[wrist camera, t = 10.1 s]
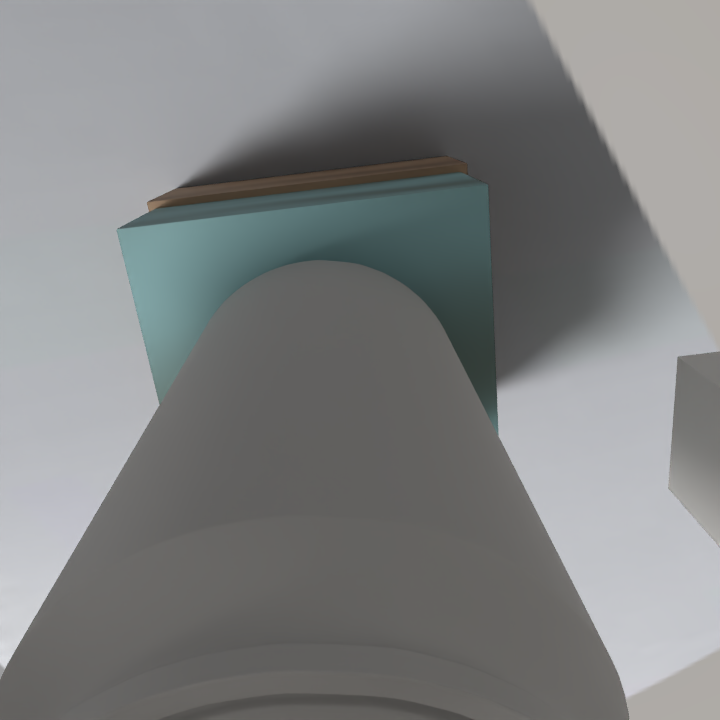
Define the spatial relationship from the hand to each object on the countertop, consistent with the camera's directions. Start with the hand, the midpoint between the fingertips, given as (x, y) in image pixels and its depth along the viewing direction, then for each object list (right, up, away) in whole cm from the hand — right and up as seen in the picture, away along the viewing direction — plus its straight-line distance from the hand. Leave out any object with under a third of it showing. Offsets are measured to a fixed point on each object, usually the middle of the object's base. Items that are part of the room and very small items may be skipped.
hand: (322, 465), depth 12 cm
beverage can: (0, +1, +5) cm, 5 cm away
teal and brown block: (0, +4, +11) cm, 12 cm away
